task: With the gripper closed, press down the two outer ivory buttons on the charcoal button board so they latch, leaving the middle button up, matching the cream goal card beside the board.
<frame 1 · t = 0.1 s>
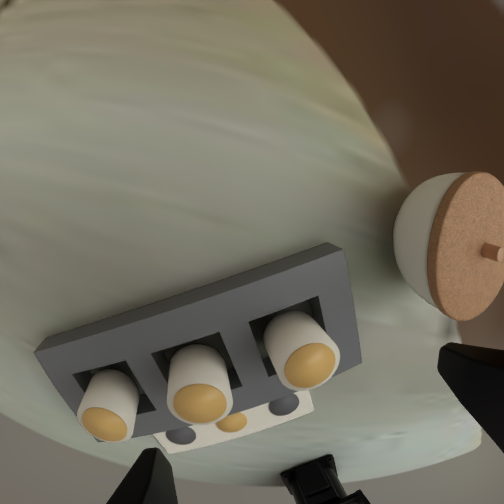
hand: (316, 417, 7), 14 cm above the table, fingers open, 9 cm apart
board: (197, 353, 22), on the table
button b: (198, 385, 18), point 4 cm above the table, slide at 0.0 cm
button c: (109, 406, 17), point 4 cm above the table, slide at 0.0 cm
goal card: (231, 419, 24), on the table
lidded jar: (416, 231, 23), on the table
button a: (300, 350, 18), point 4 cm above the table, slide at 0.0 cm
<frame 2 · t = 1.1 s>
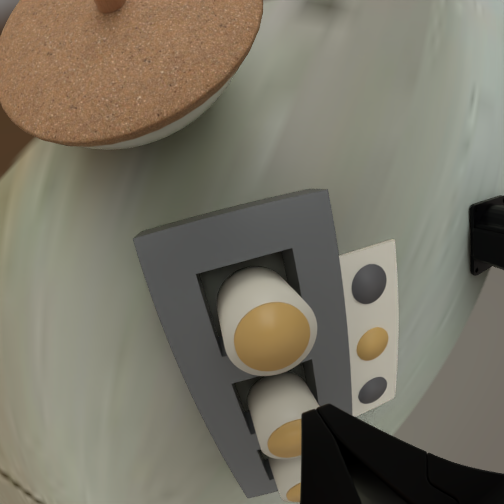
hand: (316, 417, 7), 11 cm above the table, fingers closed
board: (270, 379, 19), on the table
button b: (286, 416, 15), point 4 cm above the table, slide at 0.0 cm
button c: (300, 471, 17), point 4 cm above the table, slide at 0.0 cm
goal card: (370, 342, 20), on the table
lidded jar: (143, 76, 14), on the table
button a: (262, 318, 14), point 4 cm above the table, slide at 0.0 cm
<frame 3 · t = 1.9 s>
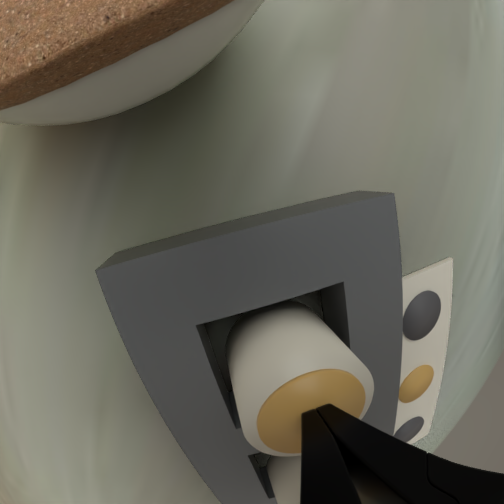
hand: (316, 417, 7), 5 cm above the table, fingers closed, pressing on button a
board: (293, 434, 14), on the table
button b: (318, 488, 10), point 4 cm above the table, slide at 0.0 cm
goal card: (413, 381, 15), on the table
lidded jar: (123, 32, 9), on the table
button a: (292, 377, 9), point 3 cm above the table, slide at 0.9 cm, touching gripper
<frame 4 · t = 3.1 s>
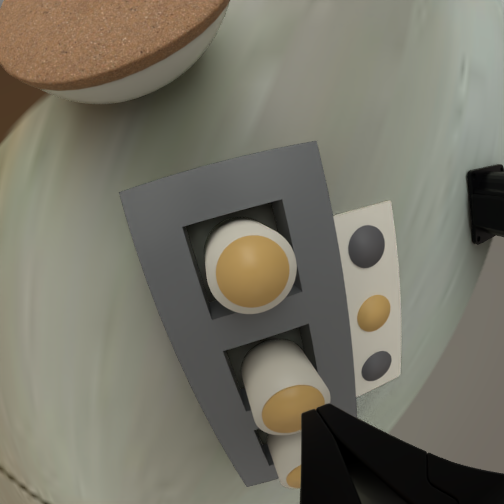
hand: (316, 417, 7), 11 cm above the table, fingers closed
board: (266, 350, 19), on the table
button b: (283, 387, 15), point 4 cm above the table, slide at 0.0 cm
button c: (301, 454, 17), point 4 cm above the table, slide at 0.0 cm
goal card: (371, 311, 20), on the table
lidded jar: (134, 46, 13), on the table
button a: (245, 261, 15), point 2 cm above the table, slide at 1.6 cm
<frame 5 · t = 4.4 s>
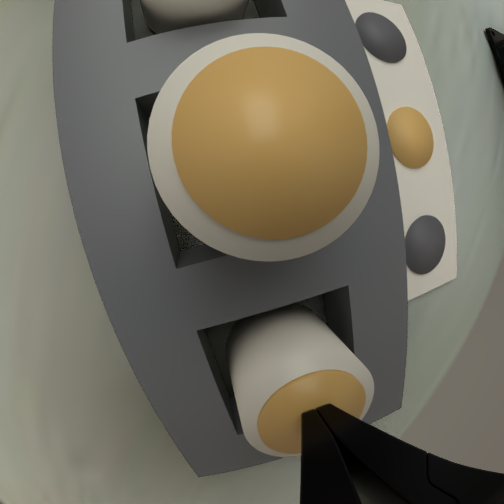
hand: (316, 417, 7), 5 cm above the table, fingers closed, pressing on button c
board: (231, 165, 10), on the table
button b: (252, 152, 6), point 4 cm above the table, slide at 0.0 cm
button c: (293, 378, 9), point 3 cm above the table, slide at 1.2 cm, touching gripper
goal card: (406, 137, 11), on the table
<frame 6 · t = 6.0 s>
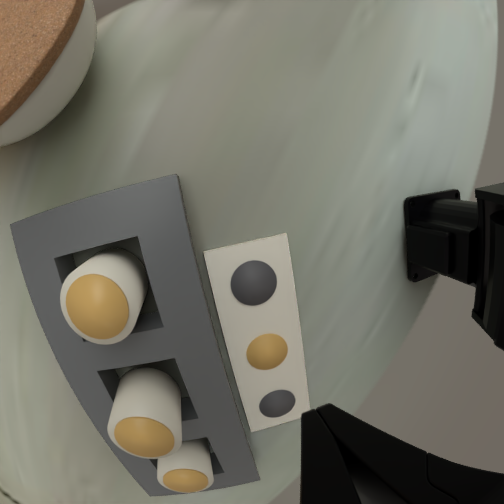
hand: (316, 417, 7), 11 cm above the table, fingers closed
board: (151, 375, 18), on the table
button b: (146, 414, 14), point 4 cm above the table, slide at 0.0 cm
button c: (184, 461, 17), point 2 cm above the table, slide at 1.6 cm
goal card: (265, 349, 19), on the table
lidded jar: (42, 79, 13), on the table
button a: (106, 293, 14), point 2 cm above the table, slide at 1.6 cm
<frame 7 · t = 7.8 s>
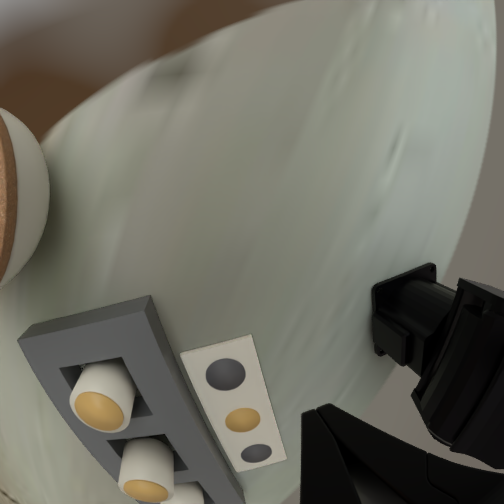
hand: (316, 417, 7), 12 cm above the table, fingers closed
board: (150, 435, 20), on the table
button b: (147, 471, 16), point 4 cm above the table, slide at 0.0 cm
button c: (181, 496, 19), point 2 cm above the table, slide at 1.6 cm
goal card: (242, 417, 21), on the table
lidded jar: (13, 195, 15), on the table
button a: (105, 393, 16), point 2 cm above the table, slide at 1.6 cm
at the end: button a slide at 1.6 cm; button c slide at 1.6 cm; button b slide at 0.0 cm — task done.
